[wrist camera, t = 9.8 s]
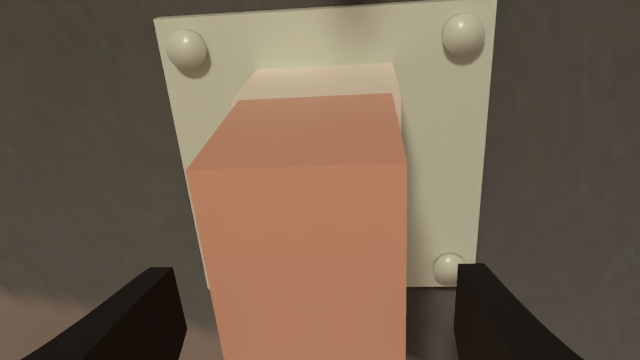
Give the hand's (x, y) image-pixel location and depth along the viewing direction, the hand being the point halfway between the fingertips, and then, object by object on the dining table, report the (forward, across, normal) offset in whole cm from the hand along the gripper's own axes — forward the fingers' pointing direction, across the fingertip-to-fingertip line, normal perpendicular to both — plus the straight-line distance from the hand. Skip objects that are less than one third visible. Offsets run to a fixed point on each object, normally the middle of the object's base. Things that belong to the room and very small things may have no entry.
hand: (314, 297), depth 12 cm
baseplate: (+9, 0, 0) cm, 9 cm away
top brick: (+4, 0, 0) cm, 4 cm away
